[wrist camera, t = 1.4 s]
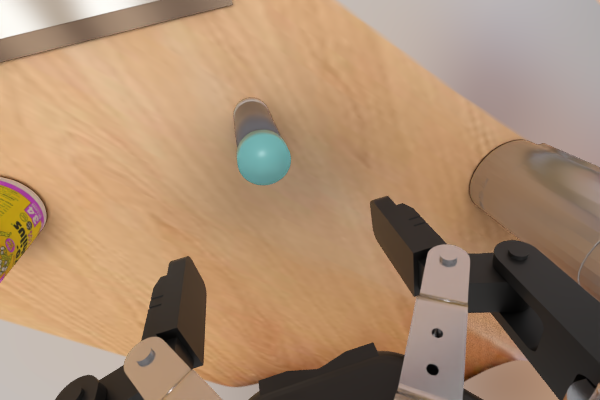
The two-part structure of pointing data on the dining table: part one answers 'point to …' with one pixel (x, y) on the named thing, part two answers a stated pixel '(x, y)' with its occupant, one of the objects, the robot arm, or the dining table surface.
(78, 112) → the dining table surface
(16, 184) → the supplement bottle
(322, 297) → the dining table surface
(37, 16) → the clipboard
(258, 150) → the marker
